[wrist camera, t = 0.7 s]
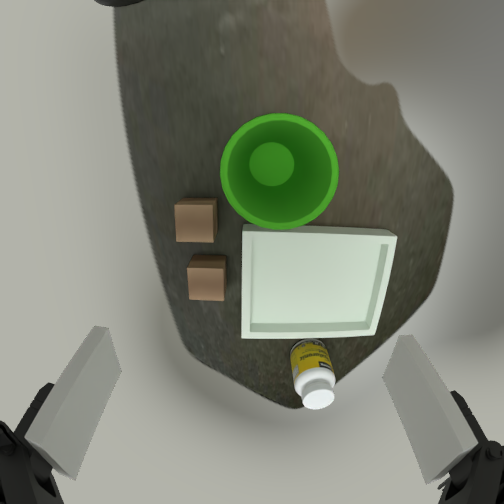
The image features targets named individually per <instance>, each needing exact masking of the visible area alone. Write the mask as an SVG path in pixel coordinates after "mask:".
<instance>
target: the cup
mask: <svg viewBox="0 0 504 504" xmlns="http://www.w3.org/2000/svg"><path fill="white" fill-rule="evenodd" d="M338 177H339V166H338V159H337V155H336V153H335V150H334V148H333V145H332V143H331V142H330V140H329V139H328V138H327V136H326V135H325V133H324V132H323V131H322V130H320V129H319V128H318V127H317V126H316V125H315V124H314V123H312V122H310V121H308V120H306V119H304V118H302V117H300V116H296V115H292V114H288V113H270V114H266V115H262V116H258V117H255V118H254V119H252V120H250V121H248V122H247V123H245V124H243V125H242V126H241V127H240V128H239V129H238V130H237V131H236V132H235V133H234V134H233V135H232V136H231V138H230V140H229V141H228V143H227V144H226V146H225V148H224V151H223V155H222V158H221V162H220V179H221V184H222V189H223V191H224V193H225V196H226V198H227V200H228V202H229V203H230V204H231V206H232V207H233V208H234V209H235V211H236V212H237V213H238V214H239V215H241V216H242V217H243V218H245V219H246V220H247V221H248V222H251V223H253V224H255V225H257V226H260V227H262V228H267V229H273V230H287V229H293V228H296V227H300V226H303V225H305V224H307V223H308V222H310V221H312V220H314V219H315V218H316V217H317V216H319V215H320V214H321V213H322V212H323V211H324V210H325V209H326V207H327V206H328V204H329V203H330V202H331V200H332V199H333V196H334V193H335V191H336V188H337V185H338Z"/></svg>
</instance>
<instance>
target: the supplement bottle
mask: <svg viewBox="0 0 504 504" xmlns="http://www.w3.org/2000/svg"><path fill="white" fill-rule="evenodd" d="M290 359H291V366H292V373H293V379H294V386H295V390H296V392H297V393H298V394H299V395H300V396H302V401H303V404H304V406H305V407H307V408H309V409H321V408H324V407H326V406H328V405H329V404H331V403H332V402H333V400H334V391H333V387H334V385H335V376H334V372H333V369H332V366H331V362H330V359H329V356H328V353H327V350H326V347H325V345H324V344H323V343H322V342H321V341H319V340H317V339H304V340H302V341H299V342H298V343H296V344H295V345H294V346H293V348H292V349H291V352H290Z"/></svg>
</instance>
